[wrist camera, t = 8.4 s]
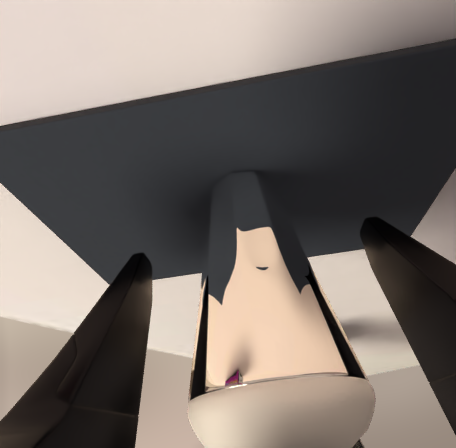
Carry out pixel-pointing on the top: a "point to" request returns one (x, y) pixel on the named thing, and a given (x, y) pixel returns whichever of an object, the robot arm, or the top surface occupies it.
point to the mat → (243, 158)
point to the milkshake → (268, 334)
